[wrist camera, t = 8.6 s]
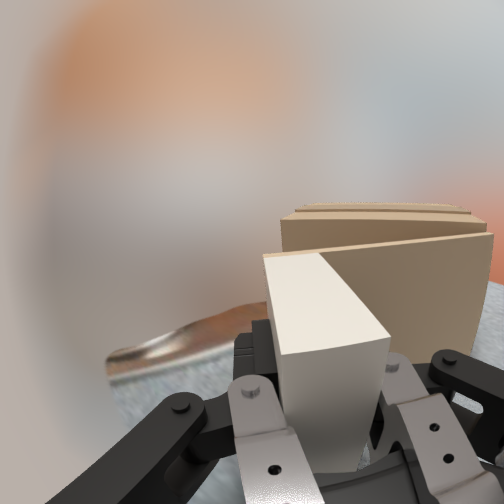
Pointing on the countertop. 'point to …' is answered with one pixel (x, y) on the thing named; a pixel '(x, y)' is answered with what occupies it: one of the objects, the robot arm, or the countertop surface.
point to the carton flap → (365, 328)
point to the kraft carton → (373, 224)
